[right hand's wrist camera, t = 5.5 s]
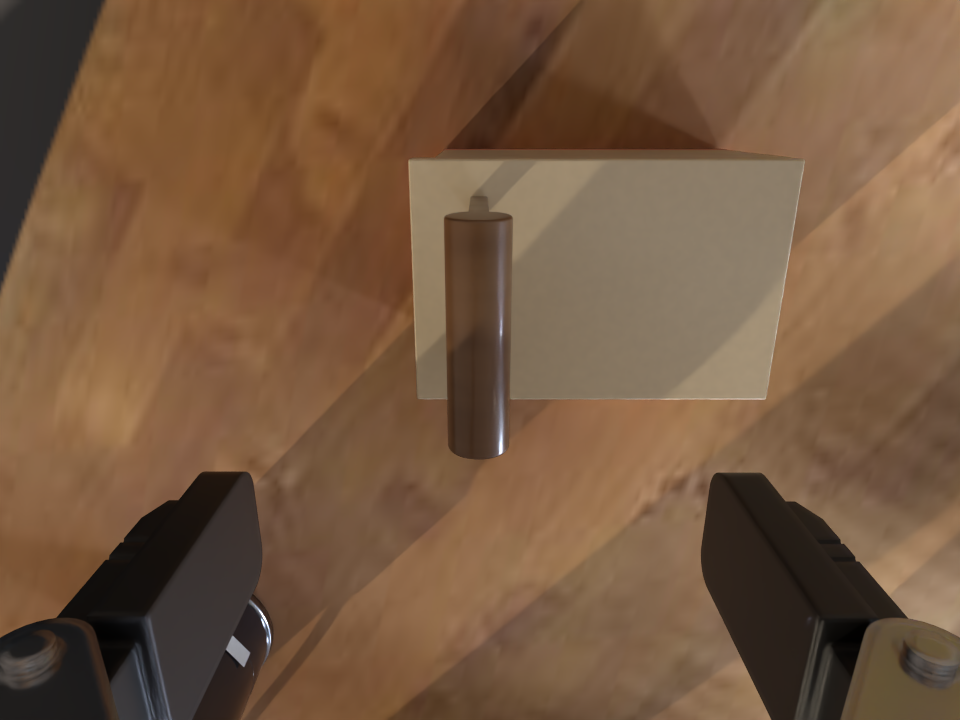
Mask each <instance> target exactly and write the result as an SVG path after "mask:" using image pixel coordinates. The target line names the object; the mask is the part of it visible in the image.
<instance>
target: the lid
mask: <svg viewBox="0 0 960 720" xmlns="http://www.w3.org/2000/svg"><path fill="white" fill-rule="evenodd" d="M408 163H409V191H410V219H411V246H412V274H413V302H414V329H415V357H416V385H417V398H418V399H447V414H448V446H449V449H450V450H451V451H452V452H453V453H454V454H456V455H458V456H460V457H463V458H468V459H489V458H494V457H497V456H499V455H501V454H503V453H504V452H505V451H506V450H507V449H508V447H509V424H510V399H766V395H767V389H768V382H769V376H770V370H771V364H772V358H773V352H774V346H775V340H776V334H777V328H778V322H779V316H780V309H781V303H782V297H783V291H784V285H785V279H786V273H787V267H788V261H789V255H790V249H791V243H792V236H793V230H794V224H795V218H796V212H797V206H798V200H799V194H800V188H801V182H802V176H803V170H804V163H805V160H804V159H799V158H411V159H409V161H408Z"/></svg>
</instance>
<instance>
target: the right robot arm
mask: <svg viewBox="0 0 960 720" xmlns="http://www.w3.org/2000/svg"><path fill="white" fill-rule="evenodd" d="M701 565H702V572H703V577H704V580H705V583H706V586H707V588H708V590H709V592H710V594H711V597H712V599H713V601H714V603H715V605H716V607H717V609H718V611H719V613H720V615H721V617H722V619H723V621H724V623H725V625H726V627H727V629H728V631H729V633H730V635H731V638H732V640H733V642H734V644H735V646H736V648H737V650H738V652H739V654H740V656H741V658H742V660H743V662H744V664H745V666H746V668H747V670H748V672H749V674H750V677H751V679H752V681H753V683H754V685H755V687H756V689H757V691H758V693H759V695H760V697H761V699H762V701H763V703H764V705H765V707H766V709H767V711H768V713H769V716H770V718H771V720H960V638H959V637H957V636H956V635H954V634H952V633H950V632H948V631H946V630H944V629H941V628H939V627H936V626H934V625H931V624H928V623H925V622H921V621H917V620H913V619H908V618H907V617H906V615H905V614H904V613H903V612H902V611H901V610H900V608H899V607H898V606H897V605H896V604H895V603H894V601H893V600H892V599H891V598H890V597H889V596H888V595H887V593H886V592H885V591H884V590H883V589H882V588H881V586H880V585H879V584H878V583H877V582H876V581H875V579H874V578H873V577H872V576H871V575H870V574H869V572H868V571H867V570H866V569H865V568H864V567H863V565H862V564H861V563H860V562H856V560H855V556H854V555H853V554H852V553H851V552H850V550H849V549H848V548H847V547H846V546H845V545H844V544H841V542H840V539H839V538H838V536H837V535H836V534H835V533H834V532H833V531H832V529H831V528H830V527H829V526H828V525H827V524H826V523H825V521H824V520H823V519H822V518H820V517H818V516H817V515H815V514H814V513H812V512H811V511H809V510H807V509H806V508H804V507H803V506H801V505H800V504H798V503H797V502H785V500H784V499H783V498H782V497H781V495H780V494H779V493H778V492H777V490H776V489H775V488H774V487H773V485H772V484H771V483H770V482H769V480H768V479H767V478H766V477H765V476H764V475H763V474H762V473H716V474H714V476H713V478H712V480H711V483H710V489H709V496H708V504H707V511H706V518H705V525H704V532H703V539H702V547H701ZM261 566H262V543H261V536H260V528H259V521H258V514H257V507H256V499H255V492H254V485H253V481H252V478H251V475H250V474H249V473H248V472H202V473H200V474H199V475H198V477H197V478H196V479H195V480H194V482H193V483H192V484H191V485H190V487H189V488H188V489H187V490H186V492H185V493H184V494H183V496H182V497H181V498H180V499H179V500H169V501H167V502H166V503H164V504H162V505H161V506H159V507H158V508H156V509H155V510H153V511H152V512H150V513H148V514H147V515H145V516H144V517H142V518H141V519H140V520H139V521H138V523H137V524H136V525H135V526H134V527H133V529H132V530H131V531H130V532H129V533H128V534H127V536H126V537H125V538H124V542H123V543H120V544H119V545H118V546H117V547H116V548H115V550H114V551H113V552H112V553H111V554H110V555H109V560H105V561H104V562H103V564H102V565H101V566H100V567H99V568H98V570H97V571H96V572H95V573H94V574H93V575H92V577H91V578H90V579H89V580H88V581H87V582H86V584H85V585H84V586H83V587H82V588H81V589H80V591H79V592H78V593H77V594H76V595H75V596H74V598H73V599H72V600H71V601H70V602H69V603H68V605H67V606H66V607H65V608H64V609H63V611H62V612H61V613H60V614H59V615H58V616H57V618H54V619H47V620H43V621H39V622H35V623H32V624H29V625H26V626H24V627H21V628H19V629H16V630H14V631H12V632H10V633H8V634H6V635H4V636H3V637H1V638H0V720H240V719H241V717H242V714H243V712H244V709H245V707H246V704H247V702H248V699H249V697H250V695H251V692H252V690H253V687H254V685H255V682H256V680H257V677H258V675H259V672H260V670H261V667H262V666H263V664H264V662H265V661H266V659H267V656H268V654H269V651H270V649H271V646H272V641H273V627H272V622H271V619H270V617H269V615H268V612H267V611H266V609H265V607H264V606H263V605H262V603H261V602H260V601H259V600H258V599H257V598H256V597H255V596H254V595H253V592H254V590H255V588H256V586H257V583H258V580H259V577H260V572H261Z"/></svg>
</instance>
